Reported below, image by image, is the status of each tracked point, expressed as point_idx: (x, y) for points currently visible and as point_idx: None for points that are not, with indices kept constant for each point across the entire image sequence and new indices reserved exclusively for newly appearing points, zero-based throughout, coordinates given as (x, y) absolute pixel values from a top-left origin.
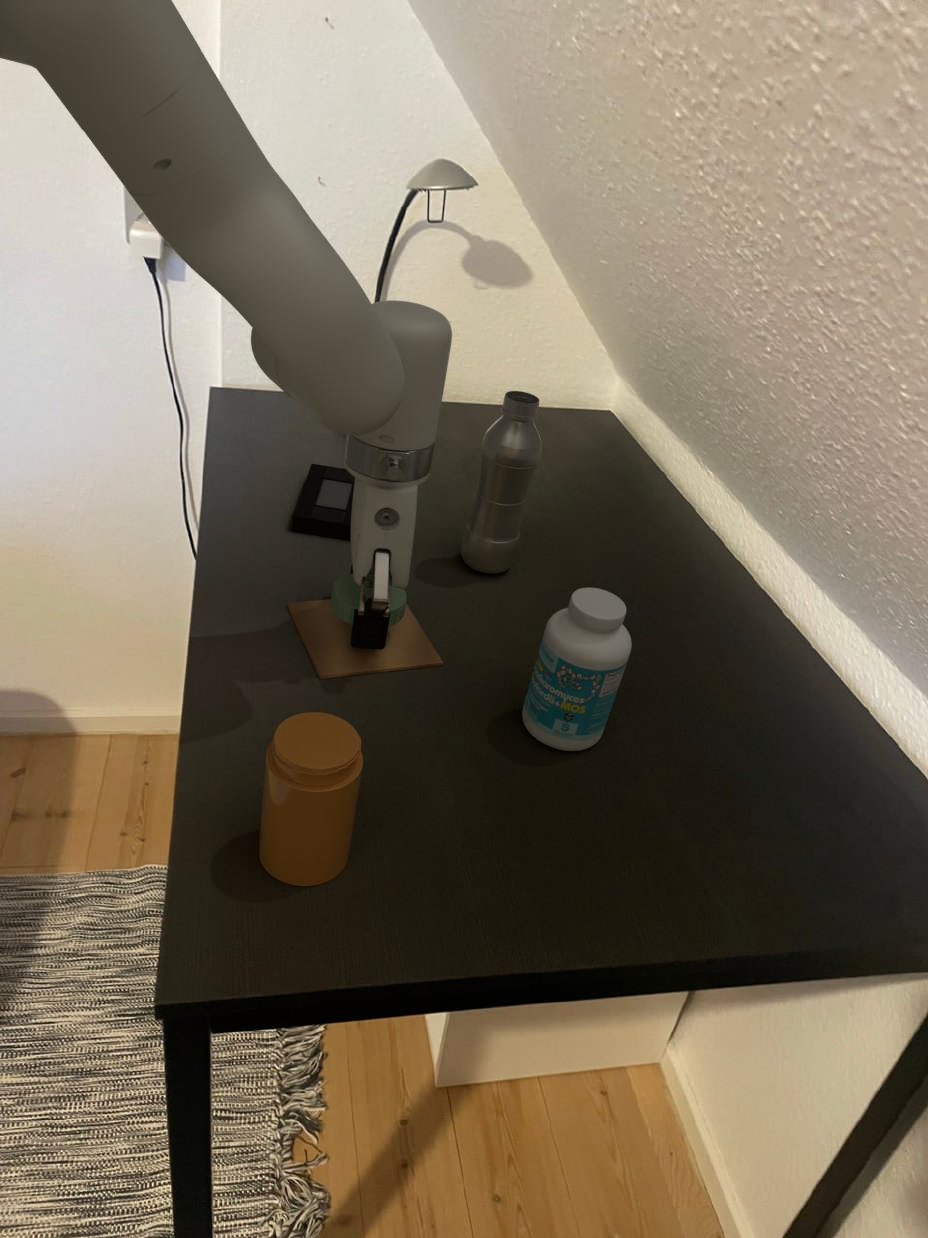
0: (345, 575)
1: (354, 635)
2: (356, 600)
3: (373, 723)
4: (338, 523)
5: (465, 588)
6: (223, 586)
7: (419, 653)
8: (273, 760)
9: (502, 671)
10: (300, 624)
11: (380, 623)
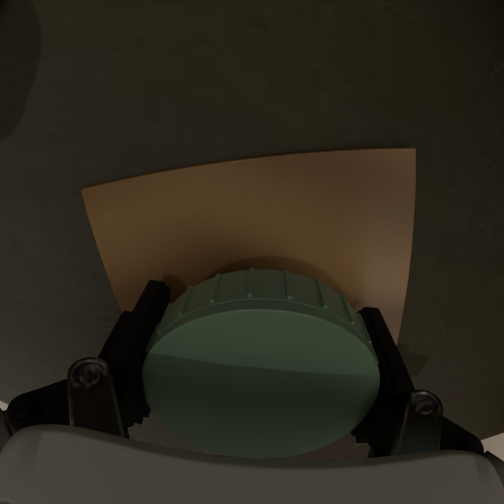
0: (176, 433)
1: None
2: (308, 434)
3: (496, 320)
4: None
5: (45, 11)
6: (134, 438)
7: (372, 200)
8: None
9: (436, 6)
10: None
11: (412, 387)
